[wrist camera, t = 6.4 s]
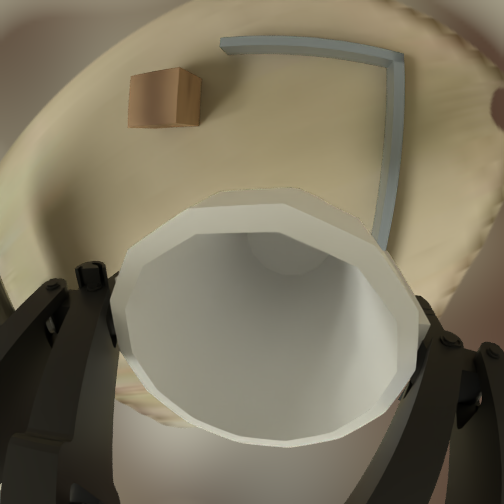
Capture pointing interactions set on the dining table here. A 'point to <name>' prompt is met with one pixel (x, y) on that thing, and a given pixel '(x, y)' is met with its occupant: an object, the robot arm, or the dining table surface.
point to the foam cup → (266, 318)
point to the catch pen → (393, 101)
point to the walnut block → (164, 99)
